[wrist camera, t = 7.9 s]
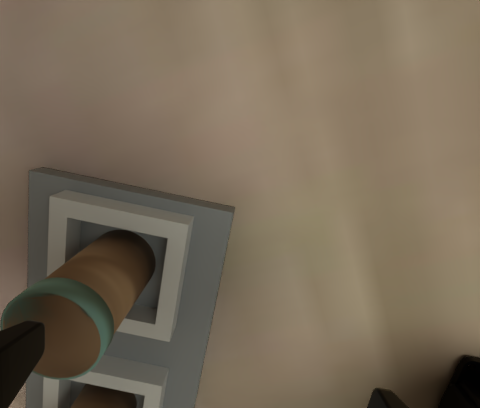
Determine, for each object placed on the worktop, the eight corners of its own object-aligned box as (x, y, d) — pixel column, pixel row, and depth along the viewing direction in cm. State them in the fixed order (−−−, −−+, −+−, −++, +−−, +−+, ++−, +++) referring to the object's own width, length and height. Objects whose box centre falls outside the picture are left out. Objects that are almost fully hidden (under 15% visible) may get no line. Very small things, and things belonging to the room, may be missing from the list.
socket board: (235, 207, 19) (231, 221, 17) (186, 447, 25) (177, 485, 22) (42, 167, 19) (9, 175, 17) (36, 415, 25) (10, 451, 22)
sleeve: (161, 235, 19) (107, 302, 12) (153, 296, 20) (99, 388, 13) (92, 221, 19) (-1, 280, 12) (87, 283, 20) (0, 368, 13)
